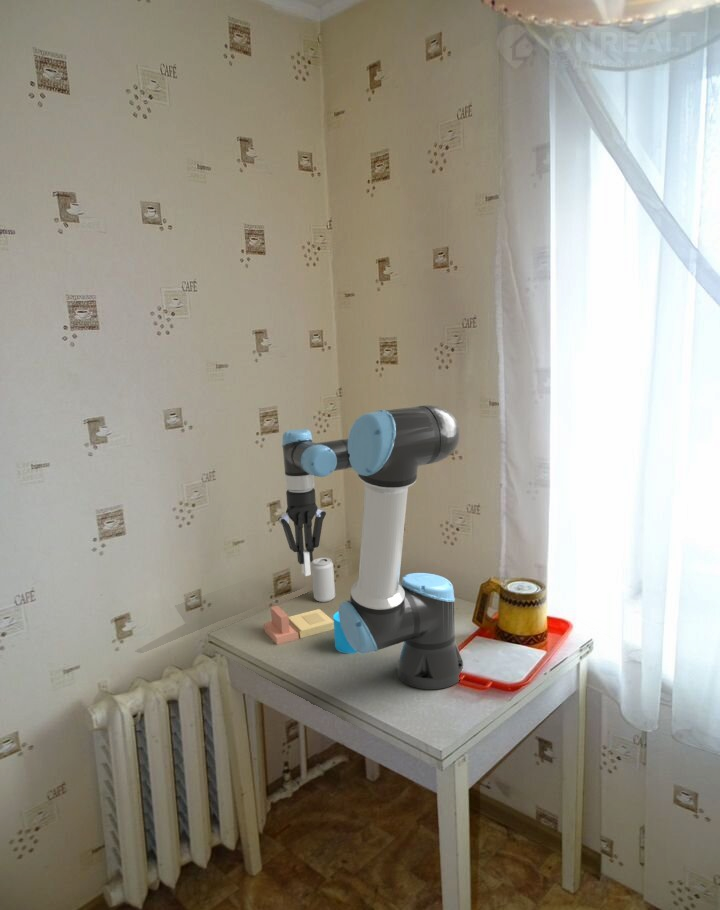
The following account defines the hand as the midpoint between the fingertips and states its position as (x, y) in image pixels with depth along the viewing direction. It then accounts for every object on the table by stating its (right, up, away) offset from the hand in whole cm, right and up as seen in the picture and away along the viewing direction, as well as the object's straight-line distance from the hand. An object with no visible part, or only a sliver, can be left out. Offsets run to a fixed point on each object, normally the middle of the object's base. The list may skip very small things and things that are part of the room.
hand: (306, 574), depth 180 cm
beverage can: (+4, -11, +21) cm, 24 cm away
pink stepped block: (-7, -16, -1) cm, 17 cm away
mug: (+12, -16, -7) cm, 22 cm away
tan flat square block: (+1, -15, +3) cm, 15 cm away
